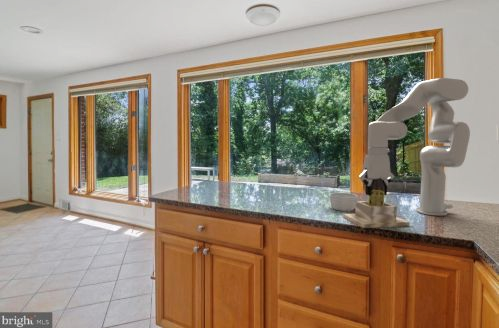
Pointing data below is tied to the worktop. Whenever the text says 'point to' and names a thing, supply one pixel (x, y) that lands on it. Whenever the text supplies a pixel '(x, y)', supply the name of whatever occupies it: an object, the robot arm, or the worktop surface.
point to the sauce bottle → (377, 193)
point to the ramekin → (343, 201)
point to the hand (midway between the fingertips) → (376, 194)
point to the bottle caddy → (375, 216)
